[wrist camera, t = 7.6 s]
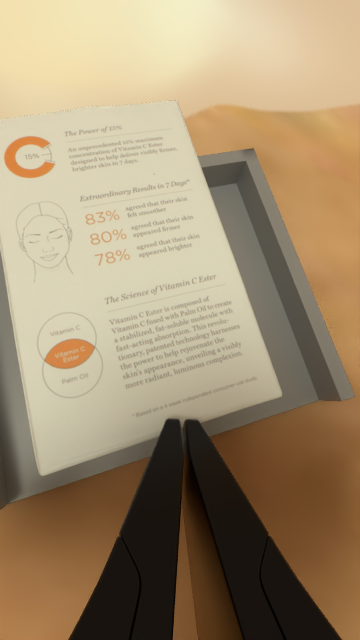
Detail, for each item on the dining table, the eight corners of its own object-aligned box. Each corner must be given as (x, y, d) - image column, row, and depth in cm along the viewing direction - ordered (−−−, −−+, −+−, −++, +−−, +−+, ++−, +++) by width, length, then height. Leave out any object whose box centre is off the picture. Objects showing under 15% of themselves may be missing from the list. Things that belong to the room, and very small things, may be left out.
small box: (232, 396, 15) (168, 194, 18) (289, 398, 9) (180, 92, 12) (81, 443, 14) (36, 216, 17) (30, 484, 8) (-28, 114, 10)
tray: (324, 396, 16) (355, 396, 14) (-4, 504, 13) (-38, 529, 11) (240, 178, 20) (253, 148, 17) (-39, 224, 17) (-71, 195, 14)
